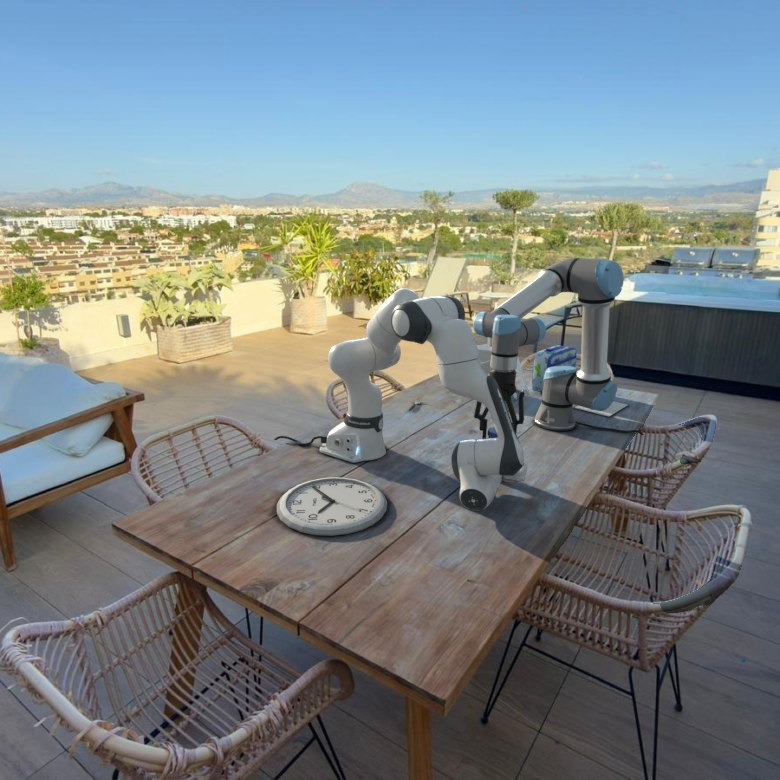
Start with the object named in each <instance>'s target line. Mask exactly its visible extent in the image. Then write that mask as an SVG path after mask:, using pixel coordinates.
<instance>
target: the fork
mask: <svg viewBox="0 0 780 780" xmlns="http://www.w3.org/2000/svg"><path fill="white" fill-rule="evenodd" d="M422 400H423V398H422V396H416V399H415V401H414V404H412V405H411V406H410V408H409V409H408V412H410V411H411V410H413V409H414V408H415V407H416V405H419V404H421V403H422Z"/></svg>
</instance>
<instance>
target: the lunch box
mask: <svg viewBox="0 0 780 780" xmlns="http://www.w3.org/2000/svg"><path fill="white" fill-rule="evenodd" d="M576 362H577V348H576V347H571V346H565V345H553V346H550V347H546V348H545V349H542V350H539V351H538V352H537V353H536V354H535V356H534V358H533V365H532V376H531V377H532V378H531V390H532V391H533V392H537V393H542V391H543V381H544V380H543V378H544V374H545V371H546V369H547V368H550V367H554V366H572V367H575V368H576V364H577V363H576Z"/></svg>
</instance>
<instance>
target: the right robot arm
mask: <svg viewBox="0 0 780 780" xmlns="http://www.w3.org/2000/svg"><path fill="white" fill-rule="evenodd" d="M624 278H625V277H624V271H623V268H622V266H621V265H620V264H619V262H617V261H616V260H610V259H607V258H580V257H570V258H565V259H563V260H559V261H557V262H555V263H553V264H551V265H550V266H548V267H546V268H545V269H543V270H542V271H540V272H539V273H538V274H537V276H536V279H534V280H533V281H532V282H530V283H529V284H527V285H526V286H525V287H524V288H522V289H520V290H519V291H518V292H516V293H515V294H514V295H512V296H511V297H510V298H509V299H507V300H506V301H504V302H503V303H501V304H500V305H499V306H497V307H496V308H494V309H493V310H491V311H490V312H489V311H480V312H478V313H477V314H476V315H475V316H474V319H473V322H472V327H473V331H474V332H475V333H474V334H476V335H478V336H482V337H484V338H490V339H491V348H492V351H491V361H490V367H491V369H490V373H489V374H488V376H491V377H493V378H494V379H495V380H496V382H497V384H498V386H499V388H500V391H501V393H502V396H503V399H504V401H505V404H506V407H507V410H508V413H509V416H510V419H511V422H512V425H513V427H514V430H515V433H516V434H517V431H518V425H523V424H524V421H525V409H524V408H525V405H524V404H525V403H524V397H525V395H526V394H525V390H523V389H519V388H517V387H516V386H517V385H516V378H517V369H516V368H517V358H518V359H519V347H523V346H529V345H534V344H537V343H540V342H541V341H542V340H544V338H545V337H546V333H547V327H546V324H545V322H543V320H541V319H539V318H538V317H529V318H525V317H526V316H527V315H529V313H531V312H532V311H533V310H535V309H536V308H538V307H539V306H540V305H542V304H543V303H544V302H545V301H547V300H548V299H549V298H551V297H556V296H558V295H559V294H562V293H573V294H577V302H578V303H579V304H580V305H581V306H582V309H581V311H582V313H581V345H580V346H581V349H580V353H581V354H580V369H578V368H577V367H576V366H575V367H572V366H554V367H550V368H547V369H546V371H545V374H544V378H543V380H544V381H543V391H542V394H541V402H540V405H539V407H538V410H537V411H536V413H535V416H534V424H535V425H536V426H537V427H539V428H542V429H544V430H549V431H556V432H567V431H572V430H574V429H575V428H576V425H579V426H584V427H587V428H590V429H595V430H603V431H611V432H616V433H617V432H618V433H622V434H631V433H637V434H640V436H645V434H644V433H643V432H642V431H641V430H638V429H631V430H624V429H619V428H611V427H603V426H597V425H591V424H588V423H585V422H581V421H576V418H575V417H576V416H575V413H574V407H573V405H575V406H582V407H586V408H589V409H591V410H597V411H604V410H606V409H607V408H608V407H609V406H610V405H611V404H612V402H613V401H614V400H615V398H616V395H617V392H618V384H617V382H616V381H614V380H611V379H612V373H611V372H610V371H609V369H607V367H608V347H609V327H610V307H611V304H612V303H614V302H615V300H616V298H617V297H618V296H619V295H620V294H621V292H622V290H623V288H622V287H624V280H625V279H624ZM514 393H516V395H517V398H518V402H517V404H518V405H517V406H518V416H517V414H516V411H515V406H514V403H513V400H512V397H513V394H514ZM482 405H483V403H481V402H479V401H477V400H476V404H475V410H474V414H473V415H474V416H473V418H474V419H476V420H477V419H478V420H479V427H478V428H479V431H481V432H482V438H481V439H487V432H488V419H487V418H486V417H487V415H488V413H489V410H488V408H487V407H486V406H485V408H484V411H483V412H482V413H481V409H482Z"/></svg>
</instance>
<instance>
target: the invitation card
mask: <svg viewBox="0 0 780 780" xmlns="http://www.w3.org/2000/svg"><path fill="white" fill-rule="evenodd" d="M628 406H629V404H627V403H623V402H618V401H614V400H613V402H612V404H611V405H610V406H609V407H608V408H607V409H606V410H604V411H597V410H591V409H589V408H586V407H582V406H578V405H575V406H574V407H573V409H575V410H581V411H584V412H587V413H593V414H596V415H600V416H604V417H608V418H609V417H611V416H613V415H614V414H616V413H617V412H619V411H621V410H623V409H624V408H626V407H628Z"/></svg>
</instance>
